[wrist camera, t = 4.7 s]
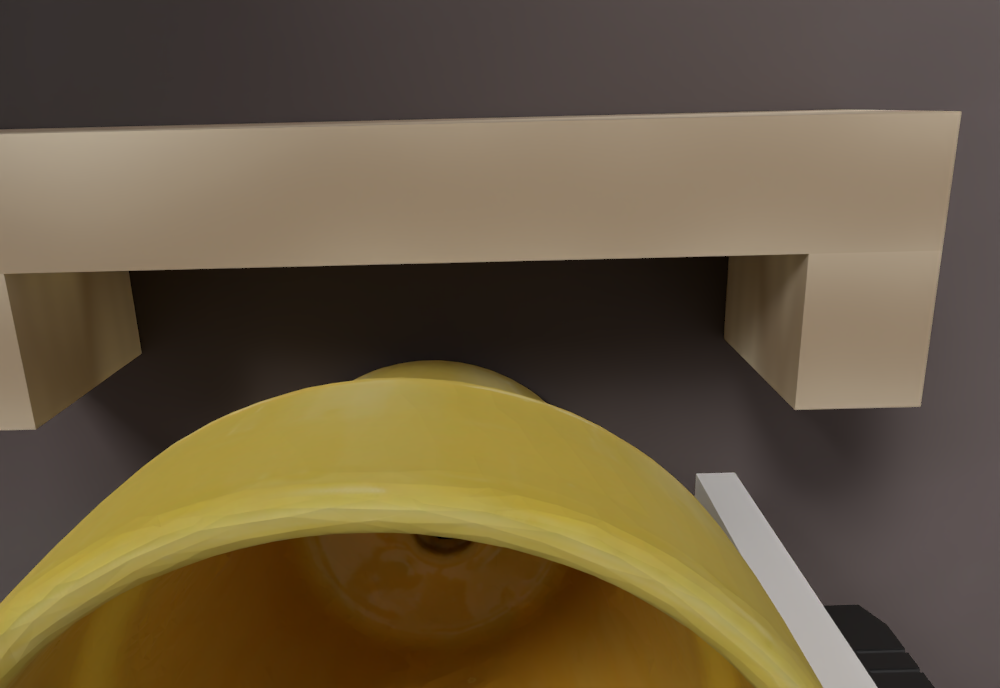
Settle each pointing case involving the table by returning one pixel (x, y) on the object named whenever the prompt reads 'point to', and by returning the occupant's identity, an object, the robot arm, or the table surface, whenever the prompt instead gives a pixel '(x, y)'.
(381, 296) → the table surface
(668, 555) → the plant pot
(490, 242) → the flower pot holder
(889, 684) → the robot arm
